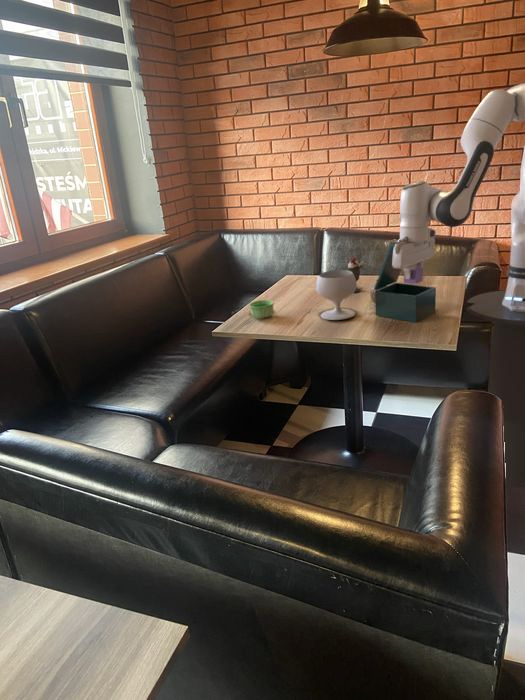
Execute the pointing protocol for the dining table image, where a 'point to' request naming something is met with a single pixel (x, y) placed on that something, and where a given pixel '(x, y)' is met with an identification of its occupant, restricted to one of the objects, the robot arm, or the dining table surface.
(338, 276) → the chalice
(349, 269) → the sundae
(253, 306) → the ramekin
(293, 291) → the dining table surface
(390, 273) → the compartment lid
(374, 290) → the vase
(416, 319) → the compartment
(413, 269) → the purple cube
